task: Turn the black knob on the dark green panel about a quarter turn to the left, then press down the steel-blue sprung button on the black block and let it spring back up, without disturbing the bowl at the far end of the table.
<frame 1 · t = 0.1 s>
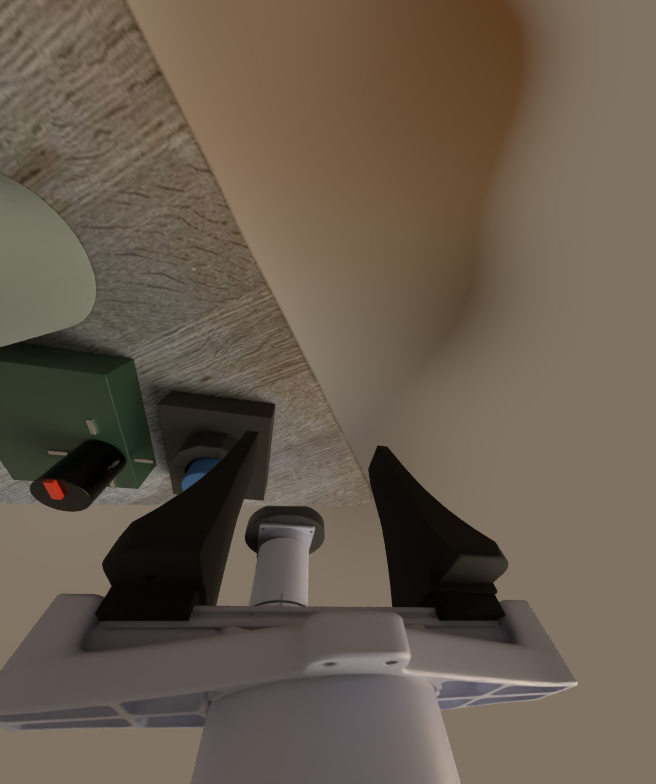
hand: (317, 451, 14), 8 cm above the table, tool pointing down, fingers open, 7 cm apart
plunger: (208, 479, 20), point 4 cm above the table, slide at 0.1 cm
panel: (85, 411, 21), on the table
button block: (225, 443, 24), on the table
knob: (81, 476, 18), point 5 cm above the table, hinge at 0.0°
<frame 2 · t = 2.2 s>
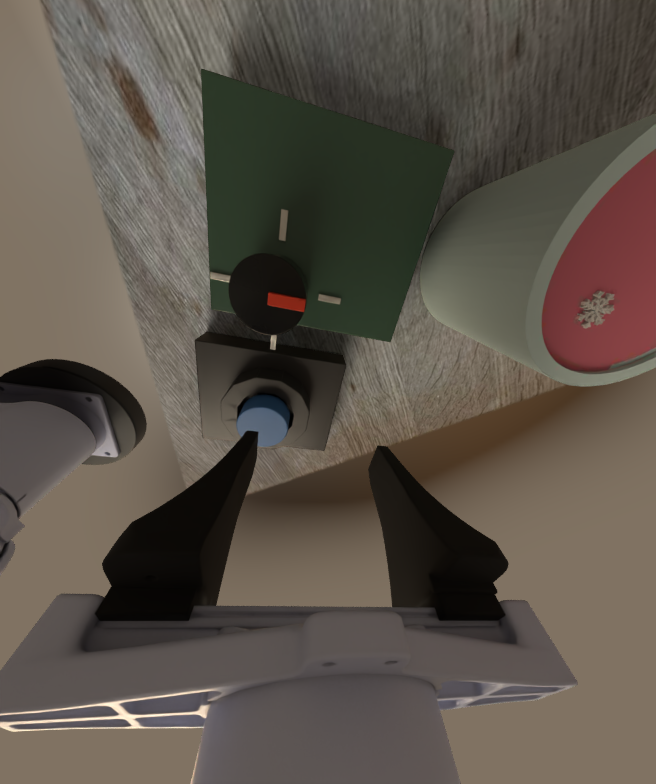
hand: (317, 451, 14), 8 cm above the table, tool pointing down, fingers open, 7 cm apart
mug: (512, 255, 17), on the table
plunger: (264, 420, 17), point 4 cm above the table, slide at 0.1 cm
panel: (318, 242, 16), on the table
button block: (273, 390, 21), on the table
knob: (273, 292, 12), point 5 cm above the table, hinge at 0.0°
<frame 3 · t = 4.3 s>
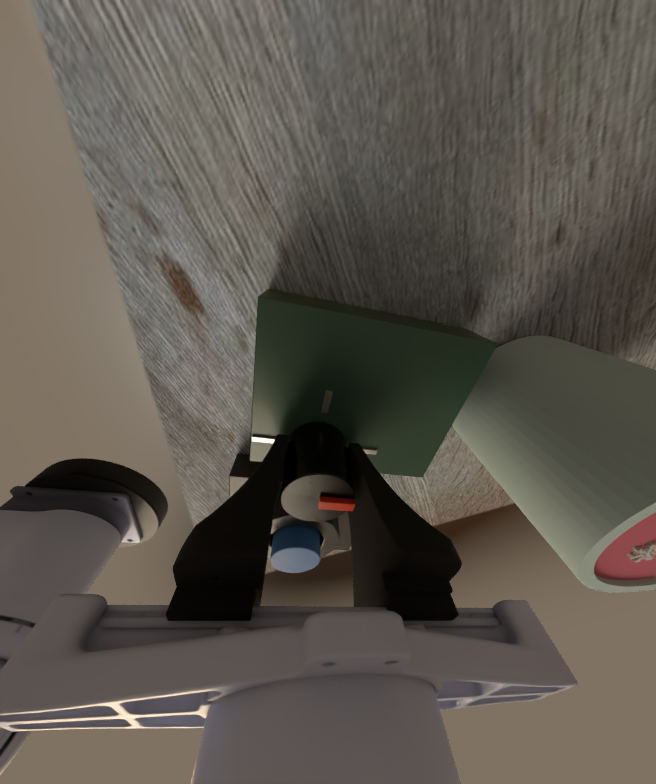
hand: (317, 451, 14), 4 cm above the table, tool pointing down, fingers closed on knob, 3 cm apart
mug: (541, 387, 17), on the table
plunger: (296, 548, 18), point 4 cm above the table, slide at 0.1 cm
panel: (352, 384, 16), on the table
button block: (299, 495, 21), on the table
knob: (317, 471, 13), point 5 cm above the table, hinge at 0.1°, touching gripper
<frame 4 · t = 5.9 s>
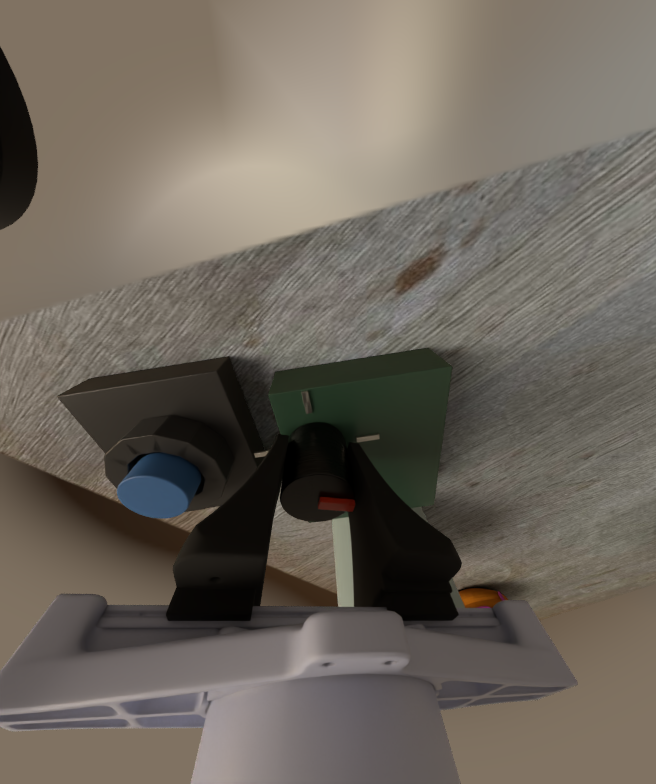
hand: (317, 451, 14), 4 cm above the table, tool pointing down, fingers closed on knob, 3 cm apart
mug: (386, 527, 25), on the table
plunger: (162, 485, 13), point 4 cm above the table, slide at 0.1 cm
panel: (358, 431, 18), on the table
button block: (196, 434, 17), on the table
donut: (467, 595, 35), on the table
knob: (317, 471, 13), point 5 cm above the table, hinge at 70.0°, touching gripper
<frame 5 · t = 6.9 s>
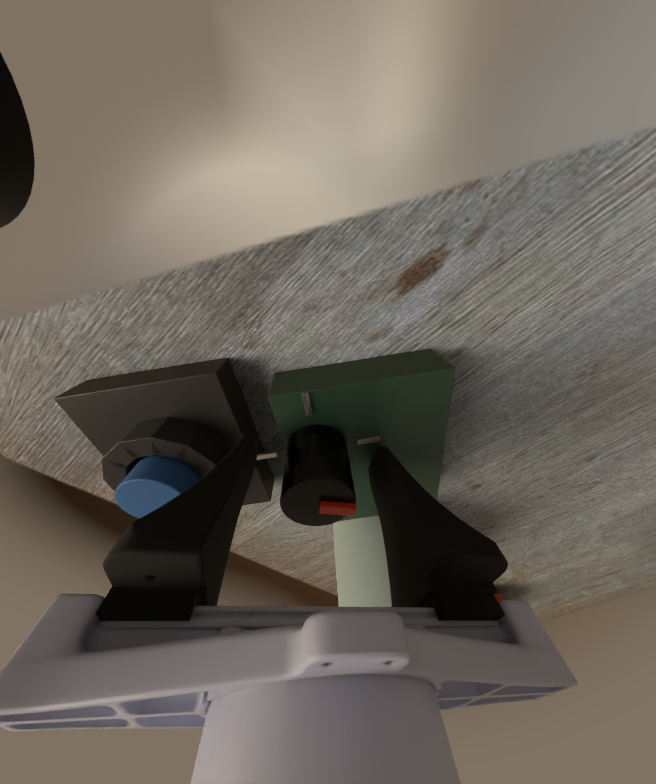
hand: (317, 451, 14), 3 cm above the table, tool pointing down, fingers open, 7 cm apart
mug: (387, 529, 25), on the table
plunger: (161, 488, 13), point 4 cm above the table, slide at 0.1 cm
panel: (359, 433, 18), on the table
button block: (195, 436, 17), on the table
knob: (317, 474, 13), point 5 cm above the table, hinge at 70.0°
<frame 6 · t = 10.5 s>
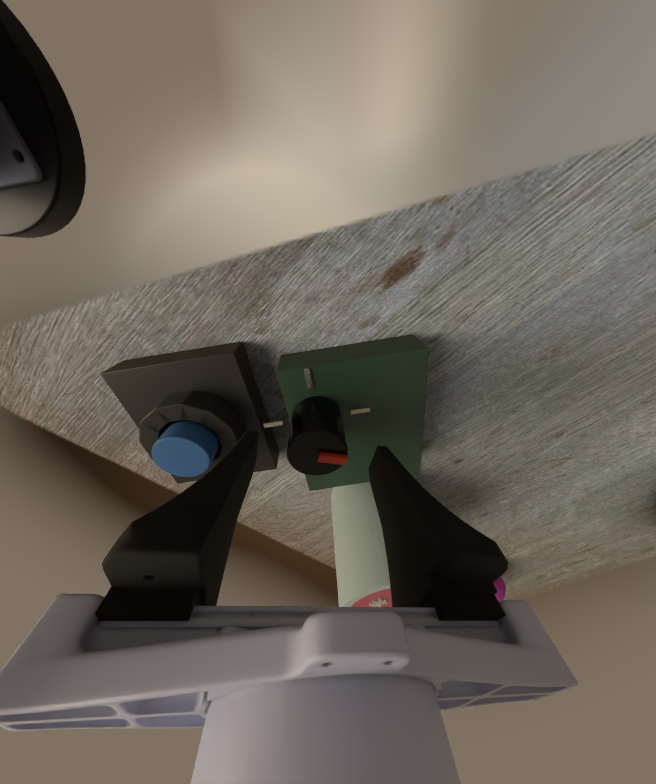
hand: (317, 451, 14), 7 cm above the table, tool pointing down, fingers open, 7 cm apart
mug: (380, 502, 28), on the table
plunger: (187, 449, 16), point 4 cm above the table, slide at 0.1 cm
panel: (353, 409, 21), on the table
button block: (211, 411, 20), on the table
knob: (317, 435, 15), point 5 cm above the table, hinge at 70.0°
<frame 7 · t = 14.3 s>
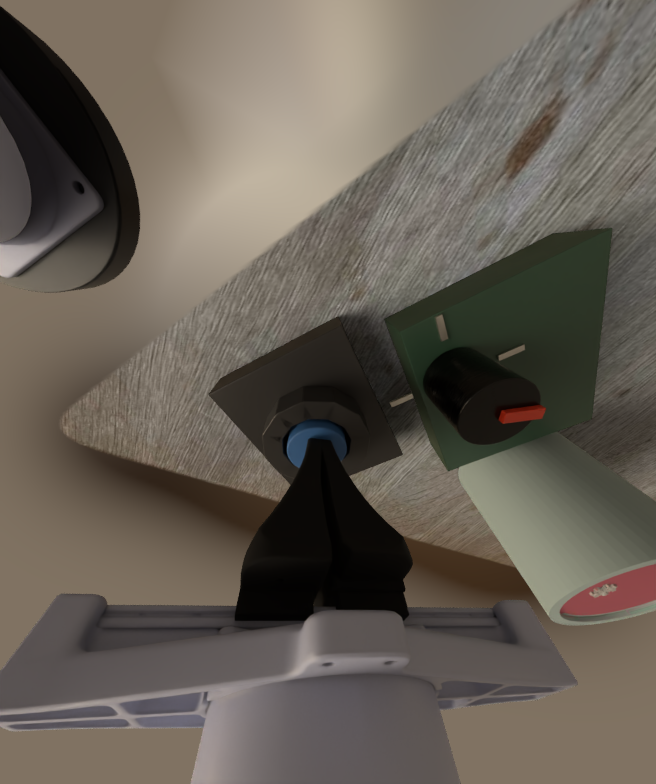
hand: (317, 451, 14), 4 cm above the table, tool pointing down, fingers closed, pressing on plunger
mug: (518, 469, 23), on the table
plunger: (316, 441, 15), point 4 cm above the table, slide at -0.8 cm, touching gripper
panel: (478, 362, 17), on the table
button block: (315, 410, 18), on the table
knob: (474, 394, 12), point 5 cm above the table, hinge at 70.0°
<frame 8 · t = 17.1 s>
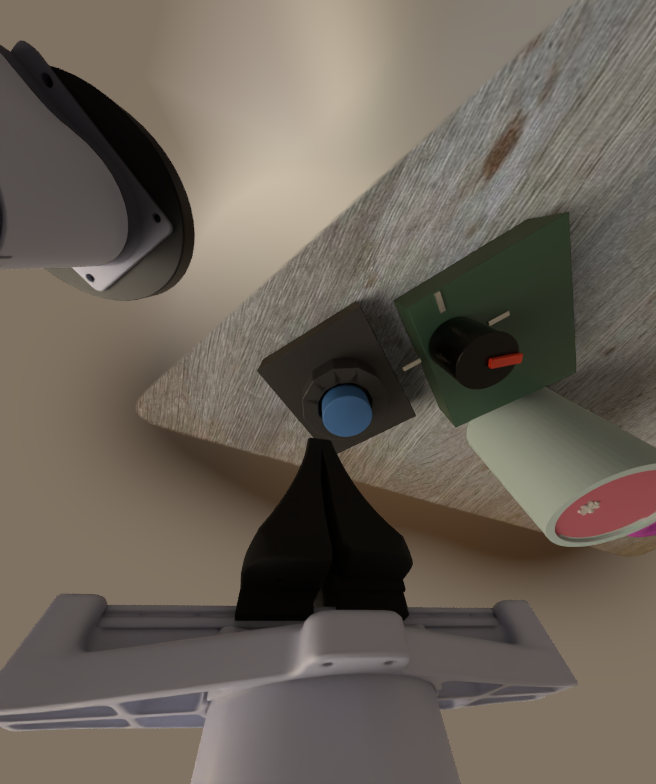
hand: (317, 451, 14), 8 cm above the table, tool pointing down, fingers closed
mug: (521, 429, 26), on the table
plunger: (346, 410, 17), point 4 cm above the table, slide at 0.1 cm
panel: (475, 332, 20), on the table
button block: (340, 383, 21), on the table
donut: (631, 490, 33), on the table
knob: (469, 352, 15), point 5 cm above the table, hinge at 70.0°
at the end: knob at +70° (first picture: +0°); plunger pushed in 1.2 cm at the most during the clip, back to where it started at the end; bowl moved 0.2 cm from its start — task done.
